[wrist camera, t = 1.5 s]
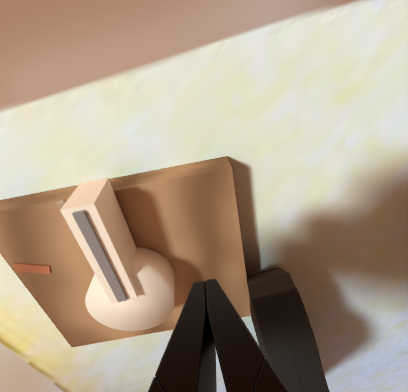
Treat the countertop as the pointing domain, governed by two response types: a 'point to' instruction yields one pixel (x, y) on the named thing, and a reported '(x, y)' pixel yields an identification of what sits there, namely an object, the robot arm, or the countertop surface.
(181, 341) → the robot arm
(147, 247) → the panel
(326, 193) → the countertop surface
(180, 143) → the countertop surface
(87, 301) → the cream elongated piece
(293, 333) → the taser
